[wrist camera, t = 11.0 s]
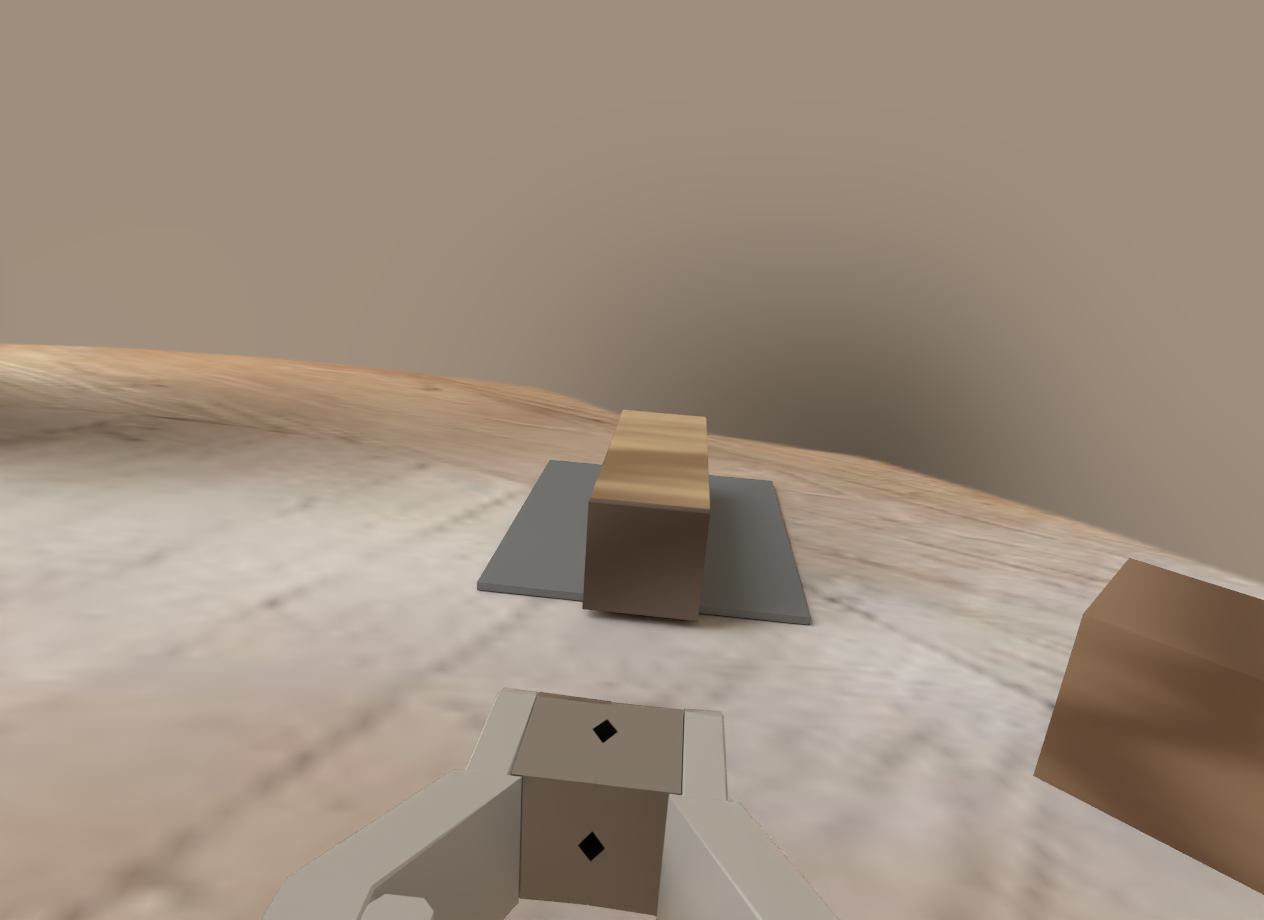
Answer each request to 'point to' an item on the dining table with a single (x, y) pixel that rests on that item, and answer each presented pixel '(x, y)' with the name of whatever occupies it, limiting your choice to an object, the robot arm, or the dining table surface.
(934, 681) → the dining table surface
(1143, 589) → the walnut cube
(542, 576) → the felt mat
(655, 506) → the oak block
